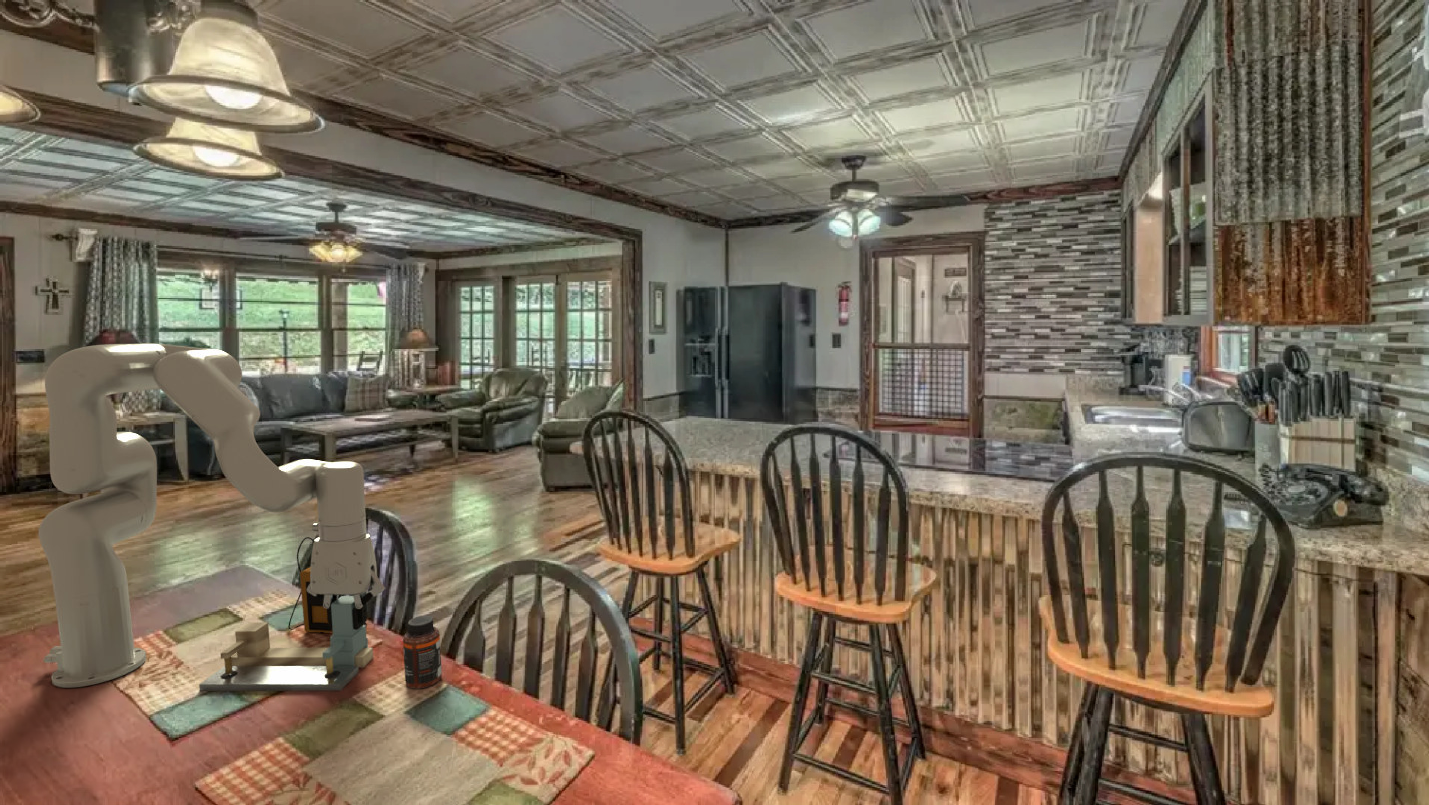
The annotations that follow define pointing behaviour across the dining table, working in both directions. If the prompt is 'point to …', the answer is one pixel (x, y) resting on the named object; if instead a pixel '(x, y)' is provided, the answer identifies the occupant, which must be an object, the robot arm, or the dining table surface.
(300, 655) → the trammel rail
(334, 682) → the flange plate
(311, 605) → the multimeter
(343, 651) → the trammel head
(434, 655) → the supplement bottle
